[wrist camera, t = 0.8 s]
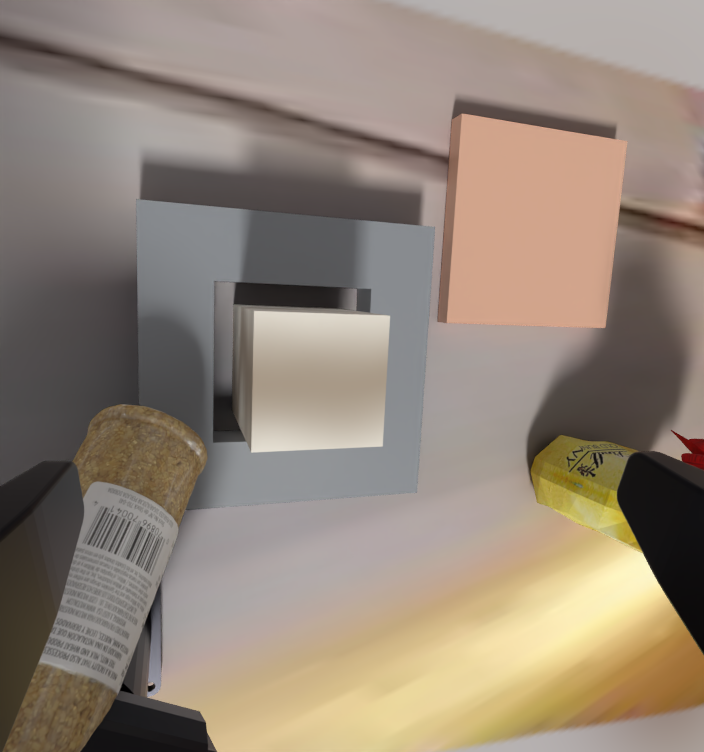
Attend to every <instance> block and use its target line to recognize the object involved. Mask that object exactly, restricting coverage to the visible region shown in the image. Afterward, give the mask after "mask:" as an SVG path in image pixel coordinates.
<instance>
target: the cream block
mask: <svg viewBox="0 0 704 752" xmlns="http://www.w3.org/2000/svg"><path fill="white" fill-rule="evenodd" d="M389 328H390V316H389V315H382V314H375V313H368V312H361V311H354V310H346V309H339V308H319V307H293V306H267V305H241V304H233V368H232V411H233V413H234V416H235V418H236V420H237V422H238V424H239V427H240V429H241V431H242V433H243V435H244V438H245V440H246V442H247V444H248V446H249V449H250V451H251V453H253V452H274V451H296V450H318V449H339V448H361V447H383V432H384V415H385V397H386V380H387V363H388V345H389Z"/></svg>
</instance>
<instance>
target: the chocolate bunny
mask: <svg viewBox="0 0 704 752" xmlns="http://www.w3.org/2000/svg"><path fill="white" fill-rule="evenodd" d="M671 431H672V430H671ZM672 432H673V433H674V434H675V435H676V436H677V437H678V438H679V439H680V440H681V441H682V443H683V444H684V445H685V446H686V447H687V448H688V449H689V450H690V451H691V452H692V454H690V453H685V454H682V456H681V457H682V461H683V462H684V463H687V464H689V465H692V466H694V467H697V468H699V469H702V470H704V439H689V440H687V439H686V438H684V437H682V436H681V435H679V434H677V433H675V432H674V431H672ZM634 452H639V451H637V450H634V449H631V448H628V447H624V446H621V445H617V444H614V443H611V442H607V441H586V440H581V439H577V438H572V437H568V436H564V435H560V436H558V437H557V438H556V439H555V440H554V441H553V442H551V443H550V444H549V445H548V446H547V447H546V448H545V449H543V450H542V451H541V452H540V453H539V454H538V455H537V456H535V459H534V462H533V465H532V468H531V476H532V481H533V485H534V490H535V495H536V499H537V503H540V504H543V505H546V506H549V507H550V508H552V509H554V510H556V511H557V512H559V513H561V514H562V515H564V516H566V517H567V518H569V519H571V520H572V521H574V522H576V523H578V524H580V525H582V526H585V527H587V528H590V529H592V530H595V531H598V532H600V533H602V534H604V535H606V536H608V537H610V538H612V539H614V540H616V541H618V542H620V543H622V544H624V545H626V546H628V547H630V548H632V549H635V550H637V551H639V552H641V553H643V552H642V550H641V548H640V546H639V544H638V542H637V540H636V538H635V536H634V534H633V532H632V530H631V528H630V526H629V525H628V523H627V521H626V519H625V517H624V515H623V513H622V511H621V509H620V507H619V504H618V501H617V489H618V486H619V483H620V480H621V477H622V474H623V471H624V468H625V466H626V463H627V460H628V458H629V456H630V455H631V454H632V453H634Z"/></svg>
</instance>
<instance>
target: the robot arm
mask: <svg viewBox="0 0 704 752" xmlns="http://www.w3.org/2000/svg"><path fill="white" fill-rule="evenodd" d="M617 501H618V504H619V507H620V509H621V511H622V513H623V515H624V517H625V519H626V521H627V523H628V525H629V526H630V528H631V530H632V532H633V534H634V536H635V538H636V540H637V542H638V544H639V546H640V548H641V550H642V552H643V554H644V556H645V558H646V560H647V562H648V564H649V566H650V568H651V570H652V572H653V574H654V575H655V577H656V579H657V581H658V583H659V585H660V586H661V588H662V590H663V591H664V593H665V595H666V596H667V598H668V599H669V601H670V603H671V604H672V606H673V607H674V609H675V611H676V612H677V614H678V615H679V617H680V618H681V620H682V622H683V623H684V625H685V626H686V628H687V630H688V631H689V633H690V634H691V636H692V638H693V639H694V641H695V642H696V644H697V645H698V647H699V649H700V650H701V652H702V653H703V655H704V470H702V469H699V468H697V467H694V466H692V465H689V464H687V463H684V462H682V461H680V460H677V459H675V458H672V457H670V456H667V455H665V454H663V453H660V452H656V451H642V452H634V453H632V454H631V455H630V456H629V458H628V460H627V463H626V466H625V468H624V471H623V474H622V477H621V480H620V483H619V486H618V489H617ZM83 519H84V502H83V496H82V490H81V485H80V479H79V473H78V468H77V466H76V464H75V463H74V462H72V461H44V462H41V463H39V464H38V465H36V466H34V467H33V468H31V469H29V470H27V471H26V472H24V473H22V474H21V475H19V476H17V477H15V478H14V479H12V480H10V481H9V482H7V483H5V484H3V485H2V486H0V752H3V750H4V748H5V745H6V743H7V740H8V738H9V735H10V733H11V730H12V728H13V725H14V723H15V720H16V718H17V715H18V713H19V710H20V708H21V705H22V703H23V700H24V698H25V695H26V693H27V691H28V688H29V686H30V683H31V681H32V678H33V676H34V673H35V671H36V668H37V666H38V663H39V661H40V658H41V656H42V653H43V651H44V648H45V646H46V643H47V641H48V638H49V636H50V633H51V631H52V628H53V625H54V623H55V620H56V617H57V614H58V611H59V608H60V604H61V601H62V597H63V594H64V590H65V586H66V583H67V579H68V575H69V572H70V568H71V564H72V561H73V557H74V553H75V550H76V546H77V542H78V539H79V535H80V531H81V527H82V524H83ZM149 682H153V683H154V684H153V685H151V686H148V683H149ZM160 687H161V593H160V584H159V587H158V589H157V592H156V595H155V597H154V600H153V603H152V605H151V608H150V611H149V613H148V616H147V619H146V621H145V624H144V627H143V629H142V632H141V635H140V637H139V640H138V643H137V645H136V648H135V651H134V653H133V656H132V659H131V661H130V664H129V667H128V669H127V672H126V675H125V677H124V680H123V683H122V685H121V688H120V691H119V693H118V695H117V697H116V698H115V700H114V702H113V704H112V706H111V708H110V710H109V711H108V713H107V714H106V715H105V717H104V718H103V720H102V722H101V723H100V724H99V726H98V727H97V728H96V730H95V731H94V732H93V734H92V735H91V737H90V739H89V740H88V741H87V743H86V745H85V746H84V747H83V748H82V750H81V751H80V752H217V751H216V749H215V747H214V745H213V743H212V741H211V739H210V737H209V735H208V733H207V729H206V722H205V720H204V718H203V717H202V715H201V713H200V712H199V711H196V710H192V709H188V708H184V707H180V706H177V705H173V704H169V703H165V702H161V701H158V700H154V699H150V698H147V697H149V696H152V695H155V694H156V693H157V692H158V691H159V690H160Z"/></svg>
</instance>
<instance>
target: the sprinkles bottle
mask: <svg viewBox="0 0 704 752" xmlns="http://www.w3.org/2000/svg"><path fill="white" fill-rule="evenodd" d="M207 458H208V457H207V449H206V447H205V445H204V443H203V441H202V439H201V437H200V436H199V435H198V434H197V433H196V432H195V431H193V430H192V429H191V428H190V427H189V426H188V425H186V424H185V423H184V422H182V421H180V420H178V419H176V418H174V417H172V416H170V415H168V414H166V413H164V412H162V411H158V410H155V409H152V408H149V407H146V406H137V405H125V404H119V405H116V406H110V407H107V408H106V409H103V410H102V411H100V413H98V414H97V415H96V416H95V417H94V418H93V419H92V420H91V422H90V424H89V427H88V434H87V436H86V438H85V440H84V441H83V443H82V444H81V446H80V448H79V450H78V452H77V454H76V456H75V458H74V459H73V461H72V462H74V463H75V464H76V466H77V468H78V473H79V479H80V485H81V490H82V496H83V502H84V519H83V524H82V527H81V531H80V535H79V539H78V542H77V546H76V550H75V553H74V557H73V561H72V564H71V568H70V572H69V575H68V579H67V583H66V586H65V590H64V594H63V597H62V601H61V604H60V608H59V611H58V614H57V617H56V620H55V623H54V625H53V628H52V631H51V633H50V636H49V638H48V641H47V643H46V646H45V648H44V651H43V653H42V656H41V658H40V661H39V663H38V666H37V668H36V671H35V673H34V676H33V678H32V681H31V683H30V686H29V688H28V691H27V693H26V695H25V698H24V700H23V703H22V705H21V708H20V710H19V713H18V715H17V718H16V720H15V723H14V725H13V728H12V730H11V733H10V735H9V738H8V740H7V743H6V745H5V748H4V750H3V752H80V751H81V750H82V748H83V747H84V746H85V745H86V743H87V741H88V740H89V739H90V737H91V735H92V734H93V732H94V731H95V730H96V728H97V727H98V726H99V724H100V723H101V722H102V720H103V718H104V717H105V715H106V714H107V713H108V711H109V710H110V708H111V706H112V704H113V702H114V700H115V698H116V697H117V695H118V693H119V691H120V688H121V685H122V683H123V680H124V677H125V675H126V672H127V669H128V667H129V664H130V661H131V659H132V656H133V653H134V651H135V648H136V645H137V643H138V640H139V637H140V635H141V632H142V629H143V627H144V624H145V621H146V619H147V616H148V613H149V611H150V608H151V605H152V603H153V600H154V597H155V595H156V592H157V589H158V587H159V584H160V581H161V579H162V576H163V573H164V571H165V568H166V565H167V563H168V560H169V558H170V555H171V552H172V550H173V547H174V544H175V542H176V539H177V536H178V531H179V530H178V528H179V525H180V523H181V520H182V517H183V514H184V512H185V509H186V506H187V504H188V500H189V498H190V496H191V494H192V491H193V489H194V485H195V482H196V480H197V477H198V475H199V474H200V473H201V472H202V471H203V469H204V467H205V465H206V461H207Z"/></svg>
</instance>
